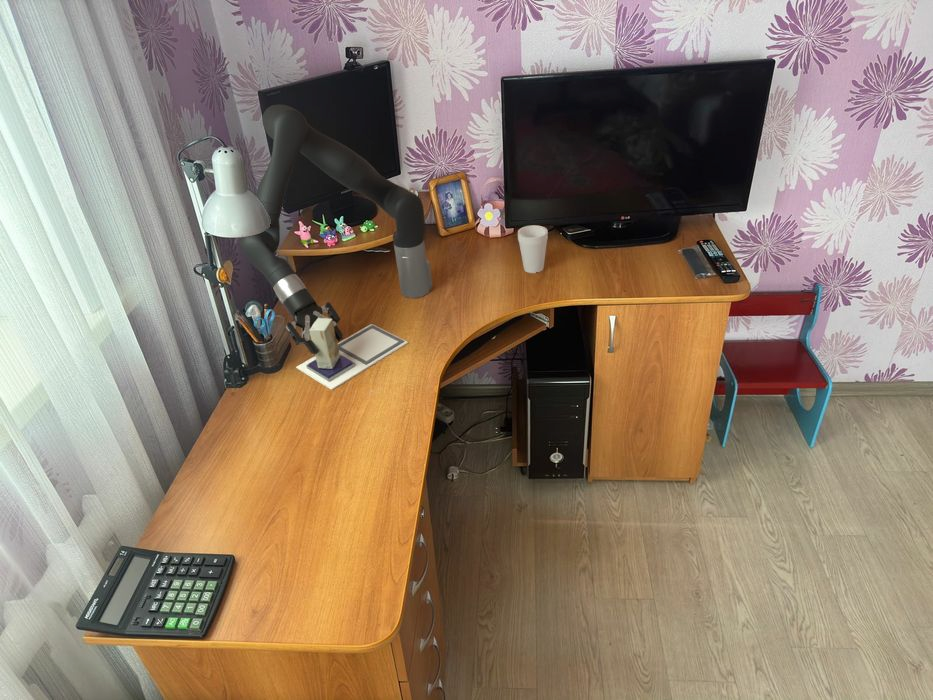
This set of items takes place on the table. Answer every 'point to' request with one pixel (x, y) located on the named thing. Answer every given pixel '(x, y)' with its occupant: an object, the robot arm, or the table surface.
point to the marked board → (360, 353)
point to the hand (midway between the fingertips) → (329, 346)
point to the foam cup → (533, 247)
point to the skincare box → (325, 343)
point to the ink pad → (330, 374)
